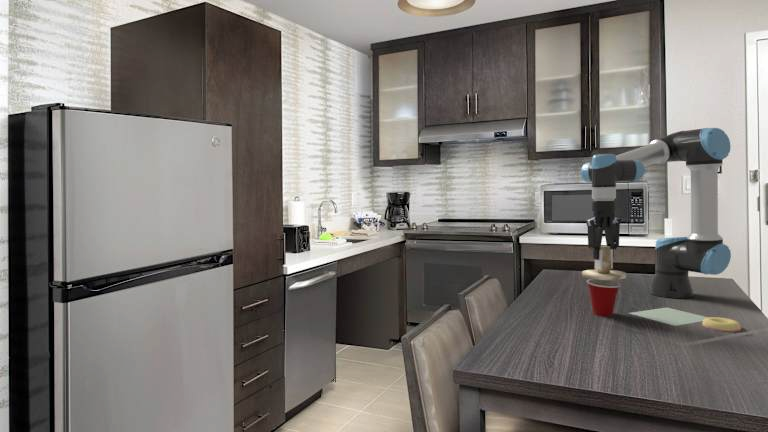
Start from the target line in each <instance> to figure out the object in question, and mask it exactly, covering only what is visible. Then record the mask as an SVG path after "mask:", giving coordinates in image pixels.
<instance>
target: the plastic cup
mask: <svg viewBox="0 0 768 432" xmlns="http://www.w3.org/2000/svg"><path fill="white" fill-rule="evenodd" d="M586 283H587V286H588V287H587V288H588V291H589V296H590V303H591V306H592V312H593V314H594V315H595V316H600V317H609V316H610V317H611V316H613V312H614V308H615V305H616V304H615V303H616V299H617V293H618V291H619V288H620V287H621V286H622V285H621V283H619V282H616V281H615V280H599V279H590V278H589V279H587V280H586Z"/></svg>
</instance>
